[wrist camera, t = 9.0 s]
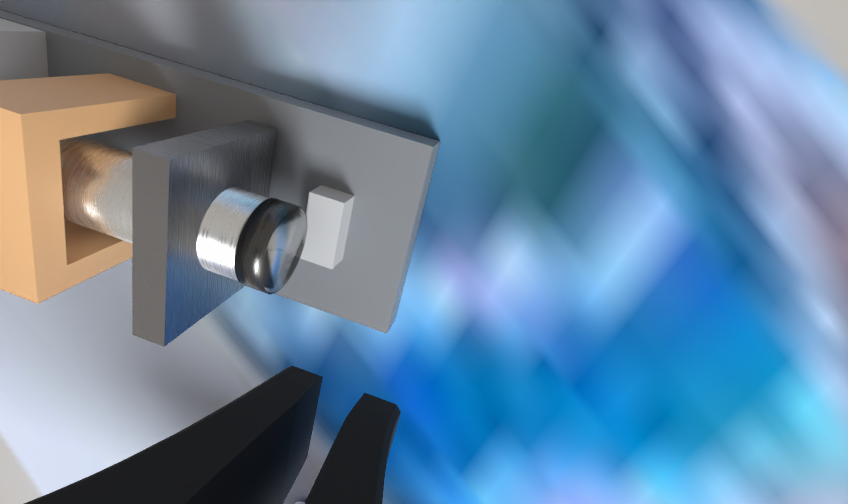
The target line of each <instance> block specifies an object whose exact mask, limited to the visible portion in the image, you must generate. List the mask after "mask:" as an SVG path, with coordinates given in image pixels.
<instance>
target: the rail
mask: <svg viewBox="0 0 848 504" xmlns="http://www.w3.org/2000/svg"><path fill="white" fill-rule="evenodd" d="M107 73H110V74H113V75H116V76H119V77H123V78H126V79H129V80H132V81H135V82H139V83H142V84H145V85H148V86H151V87H155V88H158V89H161V90H164V91H167V92H171V93H174V94H176V116H175V118H172V119H167V120H162V121H156V122H151V123H146V124H141V125H135V126H130V127H125V128H119V129H114V130H109V131H104V132H98V133H93V134H88V135H83V136H82V137H85V138H88V139H91V140H94V141H97V142H100V143H103V144H107V145H110V146H113V147H116V148H119V149H122V150H125V151H128V152H131V153H132V148H133V147H137V146H141V145H145V144H149V143H153V142H158V141H162V140H166V139H170V138H174V137H178V136H183V135H187V134H191V133H195V132H199V131H203V130H208V129H212V128H216V127H220V126H224V125H228V124H233V123H237V122H241V121H245V120H252V121H255V122H259V123H262V124H265V125H268V126H271V127H275V128H277V134H276V142H275V151H274V160H273V168H272V177H271V185H270V194H269V198H276V199H279V200H282V201H285V202H288V203H291V204H294V205H297V206H300V207H302V208H303V209H304V210H305V212H306V216H307V235H306V240H305V244H304V248H303V251H302V254H301V257H300V260H299V262H298V264H297V266H296V268H295V270H294V272H293V274H292V276H291V277H290V279H289V280H288V282H287V283H286V284H285V285H284V286H283V287H282V288H281V289H280V290H279V291H278V292H276V293H274V294H277V295H280V296H283V297H286V298H288V299H291V300H294V301H297V302H300V303H303V304H305V305H308V306H311V307H314V308H317V309H319V310H322V311H325V312H328V313H331V314H333V315H336V316H339V317H342V318H345V319H348V320H350V321H353V322H356V323H359V324H362V325H364V326H367V327H370V328H373V329H376V330H378V331H381V332H384V333H387V332H388V331H389V329H390V328H391V326H392V324H393V323H394V321H395V318H396V314H397V310H398V306H399V302H400V298H401V294H402V291H403V287H404V283H405V279H406V275H407V271H408V267H409V263H410V259H411V255H412V251H413V247H414V243H415V239H416V235H417V231H418V227H419V223H420V219H421V215H422V212H423V208H424V204H425V200H426V196H427V192H428V188H429V184H430V180H431V176H432V172H433V168H434V164H435V160H436V156H437V152H438V148H439V144H440V141H437V140H434V139H431V138H427V137H424V136H421V135H417V134H414V133H411V132H407V131H404V130H401V129H397V128H394V127H391V126H387V125H384V124H381V123H377V122H374V121H371V120H367V119H364V118H360V117H357V116H354V115H350V114H347V113H344V112H340V111H337V110H334V109H330V108H327V107H324V106H320V105H317V104H314V103H310V102H307V101H304V100H300V99H297V98H294V97H290V96H287V95H283V94H280V93H277V92H273V91H270V90H267V89H263V88H260V87H257V86H253V85H250V84H247V83H243V82H240V81H237V80H233V79H230V78H227V77H223V76H220V75H217V74H213V73H210V72H207V71H203V70H200V69H196V68H193V67H190V66H186V65H183V64H180V63H176V62H173V61H170V60H166V59H163V58H160V57H156V56H153V55H150V54H146V53H143V52H140V51H136V50H133V49H130V48H126V47H123V46H120V45H116V44H113V43H109V42H106V41H103V40H99V39H96V38H93V37H89V36H86V35H83V34H79V33H76V32H73V31H69V30H66V29H63V28H59V27H56V26H53V25H49V24H46V23H43V22H39V21H36V20H33V19H29V18H26V17H22V16H19V15H16V14H12V13H9V12H6V11H2V10H0V80H14V79H30V78H45V77H60V76H76V75H91V74H107Z"/></svg>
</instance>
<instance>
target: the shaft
mask: <svg viewBox="0 0 848 504" xmlns="http://www.w3.org/2000/svg"><path fill="white" fill-rule="evenodd" d="M276 134H277V128H275V127H271V126H268V125H265V124H262V123H259V122H255V121H252V120H245V121H241V122H237V123H233V124H228V125H224V126H220V127H216V128H212V129H208V130H203V131H199V132H195V133H191V134H187V135H183V136H178V137H174V138H170V139H166V140H162V141H158V142H153V143H149V144H145V145H141V146H137V147H133V148H132V153H131V152H128V151H125V150H122V149H119V148H116V147H113V146H110V145H107V144H103V143H100V142H97V141H94V140H91V139H88V138H85V137H82V136H77V137H72V138H67V139H62V140H59V141H60V158H61V174H62V191H63V207H64V219H65V220H67V221H70V222H73V223H76V224H79V225H82V226H84V227H87V228H90V229H93V230H96V231H98V232H101V233H104V234H107V235H110V236H112V237H115V238H118V239H121V240H124V241H127V242H129V243H132V252H133V335H135V336H138V337H141V338H143V339H146V340H148V341H151V342H154V343H156V344H159V345H162V346H166V345H167V344H168V343H170V342H171V341H172V340H173V339H175V338H176V337H177V336H179V335H180V334H181V333H183V332H184V331H185V330H187V329H188V328H189V327H191V326H192V325H193V324H195V323H196V322H197V321H199V320H200V319H201V318H203V317H204V316H205V315H207V314H208V313H209V312H211V311H212V310H213V309H215V308H216V307H217V306H218V305H220V304H221V303H222V302H224V301H225V300H226V299H228V298H229V297H230V296H232V295H233V294H234V293H236V292H237V291H238V290H240V289H241V288H242V287H244V286H248V287H251V288H253V289H256V290H259V291H262V292H265V293H268V294H274V293H276V292H278V291H279V290H280V289H281V288H282V287H283V286H284V285H285V284H286V283H287V282H288V280H289V279H290V277H291V276H292V274H293V272H294V270H295V268H296V266H297V264H298V262H299V260H300V257H301V254H302V251H303V248H304V244H305V240H306V235H307V216H306V212H305V210H304V209H303V208H302V207H300V206H297V205H294V204H291V203H288V202H285V201H282V200H279V199H276V198H269V194H270V185H271V177H272V168H273V160H274V151H275V142H276Z"/></svg>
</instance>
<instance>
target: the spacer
mask: <svg viewBox="0 0 848 504" xmlns="http://www.w3.org/2000/svg"><path fill="white" fill-rule="evenodd" d="M175 116H176V94H174V93H171V92H167V91H164V90H161V89H158V88H155V87H151V86H148V85H145V84H142V83H139V82H135V81H132V80H129V79H126V78H123V77H119V76H116V75H113V74H110V73H107V74H91V75H76V76H60V77H45V78H30V79H14V80H0V289H1V290H4V291H6V292H9V293H11V294H14V295H17V296H19V297H22V298H24V299H27V300H30V301H32V302H35V303H37V304H38V303H40V302H42V301H44V300H46V299H48V298H50V297H52V296H54V295H56V294H59V293H61V292H63V291H65V290H67V289H69V288H71V287H73V286H75V285H77V284H79V283H81V282H83V281H85V280H87V279H89V278H91V277H93V276H95V275H97V274H99V273H101V272H103V271H105V270H107V269H109V268H111V267H113V266H115V265H117V264H119V263H121V262H123V261H125V260H127V259H129V258H132V257H133V252H132V243H129V242H127V241H124V240H121V239H118V238H115V237H112V236H110V235H107V234H104V233H101V232H98V231H96V230H93V229H90V228H87V227H84V226H82V225H79V224H76V223H73V222H70V221H67V220H65V219H64V207H63V191H62V174H61V158H60V141H59V140H62V139H67V138H72V137H77V136H83V135H88V134H93V133H98V132H104V131H109V130H114V129H119V128H125V127H130V126H135V125H141V124H146V123H151V122H156V121H162V120H167V119H172V118H175Z"/></svg>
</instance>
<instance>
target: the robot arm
mask: <svg viewBox="0 0 848 504" xmlns="http://www.w3.org/2000/svg"><path fill="white" fill-rule="evenodd" d="M321 383H322V377H321V376H319V375H316V374H313V373H311V372H308V371H305V370H302V369H300V368H297V367H294V366H291V367H289V368H286V369H285V370H283V371H281V372H280V373H278V374H276V375H275V376H273V377H272V378H270V379H268V380H267V381H265V382H264V383H262V384H260V385H259V386H257V387H256V388H254V389H252V390H251V391H249V392H247V393H246V394H244V395H242V396H241V397H239V398H237V399H236V400H234V401H232V402H231V403H229V404H227V405H226V406H224V407H222V408H220V409H219V410H217V411H215V412H213V413H212V414H210V415H208V416H206V417H205V418H203V419H201V420H199V421H198V422H196V423H194V424H192V425H190V426H189V427H187V428H185V429H183V430H181V431H180V432H178V433H176V434H174V435H172V436H170V437H168V438H166V439H164V440H162V441H160V442H158V443H156V444H154V445H152V446H151V447H149V448H147V449H145V450H143V451H141V452H139V453H137V454H135V455H133V456H131V457H129V458H127V459H125V460H123V461H121V462H119V463H117V464H114V465H112V466H110V467H108V468H106V469H104V470H102V471H100V472H97V473H95V474H93V475H91V476H89V477H86V478H84V479H82V480H80V481H77V482H75V483H73V484H70V485H68V486H66V487H63V488H61V489H59V490H56V491H54V492H52V493H49V494H47V495H45V496H42V497H40V498H37V499H34V500H32V501H29V502H27V503H25V504H283V502H284V500H285V498H286V496H287V494H288V493H289V491H290V489H291V487H292V485H293V483H294V481H295V479H296V478H297V476H298V474H299V472H300V470H301V468H302V466H303V464H304V462H305V460H306V458H307V455H308V450H309V445H310V439H311V434H312V429H313V424H314V419H315V414H316V408H317V403H318V398H319V393H320V388H321ZM399 416H400V410H399V408H398V406H397V405H396V404H393V403H391V402H388V401H385V400H383V399H380V398H377V397H375V396H372V395H369V394H367V393H364V394H363V396H362V397H361V398H360V400H359V401H358V402H357V403H356V405H355V406H354V407H353V409H352V410H351V412H350V413H349V414H348V416H347V417H346V419H345V421H344V423H343V425H342V427H341V429H340V431H339V433H338V435H337V437H336V439H335V441H334V443H333V445H332V447H331V450H330V452H329V454H328V456H327V458H326V460H325V462H324V464H323V466H322V468H321V470H320V473H319V475H318V477H317V479H316V481H315V483H314V485H313V487H312V489H311V491H310V493H309V496H308V498H307V500H306V502H302V501H300V502H296V503H294V504H382V498H383V487H384V477H385V469H386V463H387V458H388V455H389V451H390V448H391V444H392V441H393V437H394V434H395V430H396V426H397V423H398V419H399Z"/></svg>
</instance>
